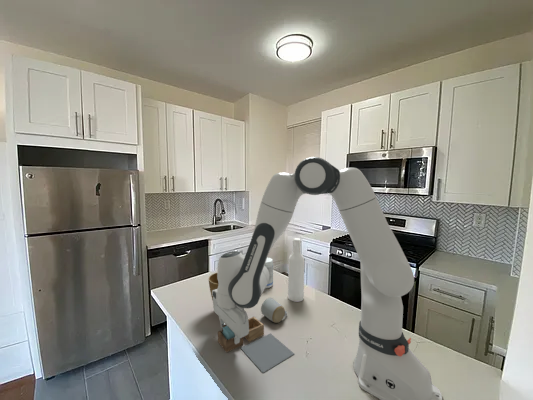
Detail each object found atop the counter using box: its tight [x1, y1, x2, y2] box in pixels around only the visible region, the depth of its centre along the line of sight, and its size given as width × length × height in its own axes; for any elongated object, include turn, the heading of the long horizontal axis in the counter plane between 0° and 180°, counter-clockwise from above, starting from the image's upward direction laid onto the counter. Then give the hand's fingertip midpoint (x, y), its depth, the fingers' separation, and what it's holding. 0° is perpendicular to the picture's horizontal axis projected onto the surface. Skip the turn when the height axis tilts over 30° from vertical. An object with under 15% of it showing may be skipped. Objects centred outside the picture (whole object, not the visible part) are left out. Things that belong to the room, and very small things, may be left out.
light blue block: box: [222, 326, 235, 340], centre depth 82 cm, size 4×4×6 cm
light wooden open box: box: [243, 316, 265, 343], centre depth 88 cm, size 7×7×4 cm
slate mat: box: [240, 333, 295, 374], centre depth 78 cm, size 13×13×1 cm
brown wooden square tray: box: [217, 329, 244, 353], centre depth 82 cm, size 7×7×4 cm
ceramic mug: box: [260, 297, 288, 324], centre depth 98 cm, size 11×8×8 cm
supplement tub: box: [265, 257, 274, 289], centre depth 129 cm, size 10×10×15 cm
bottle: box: [287, 237, 305, 302], centre depth 114 cm, size 8×8×30 cm
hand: (229, 335), depth 82 cm, fingers open, 8 cm apart
